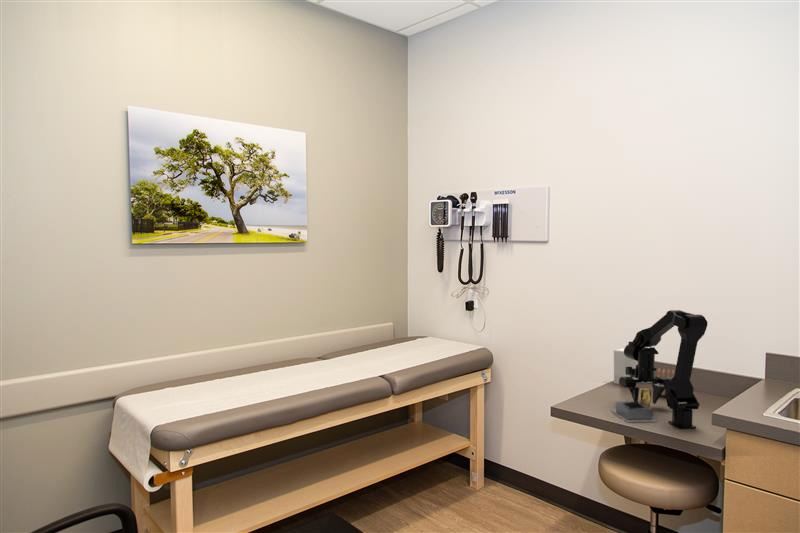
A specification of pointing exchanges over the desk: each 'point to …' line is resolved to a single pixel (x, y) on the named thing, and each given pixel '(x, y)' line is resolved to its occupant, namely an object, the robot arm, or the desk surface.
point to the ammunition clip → (667, 377)
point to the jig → (634, 412)
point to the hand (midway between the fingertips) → (644, 403)
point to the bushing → (645, 397)
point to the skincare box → (622, 365)
